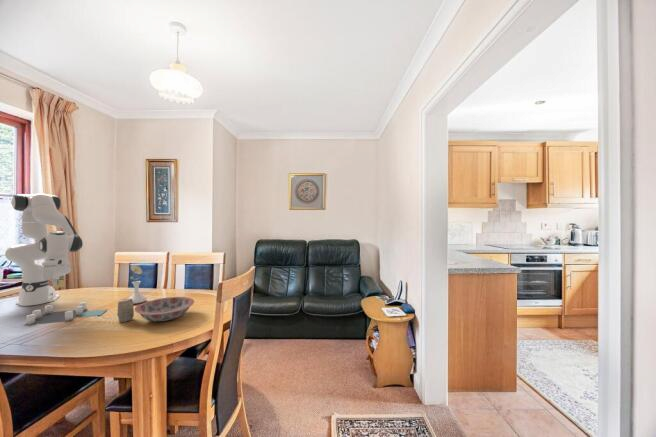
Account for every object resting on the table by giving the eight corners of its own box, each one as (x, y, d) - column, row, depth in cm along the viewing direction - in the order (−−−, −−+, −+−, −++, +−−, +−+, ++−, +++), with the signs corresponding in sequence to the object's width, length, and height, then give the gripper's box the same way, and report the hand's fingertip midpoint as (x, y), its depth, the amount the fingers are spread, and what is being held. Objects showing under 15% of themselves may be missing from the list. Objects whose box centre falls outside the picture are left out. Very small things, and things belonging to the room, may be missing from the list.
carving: (114, 322, 152) (114, 300, 152) (130, 317, 159) (129, 296, 159) (121, 324, 149) (121, 302, 149) (136, 319, 156) (136, 298, 156)
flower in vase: (149, 301, 187) (149, 264, 186) (130, 306, 177) (130, 267, 177) (140, 298, 194) (140, 262, 193) (121, 302, 184) (121, 265, 184)
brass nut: (54, 286, 159) (54, 279, 159) (66, 285, 161) (66, 278, 161) (50, 288, 154) (49, 280, 154) (62, 287, 156) (62, 280, 156)
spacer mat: (43, 313, 163) (43, 305, 163) (90, 309, 171) (90, 301, 171) (20, 326, 145) (20, 317, 144) (74, 321, 152) (74, 312, 152)
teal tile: (86, 312, 166) (86, 311, 166) (106, 310, 170) (106, 309, 170) (78, 318, 157) (78, 317, 157) (100, 316, 161) (100, 315, 161)
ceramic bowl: (121, 324, 150) (121, 309, 149) (169, 307, 177) (169, 294, 177) (161, 332, 140) (161, 316, 139) (205, 313, 167) (205, 300, 167)
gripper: (61, 257, 166) (61, 280, 166) (39, 263, 147) (40, 289, 147) (74, 256, 168) (74, 279, 168) (55, 262, 149) (55, 288, 149)
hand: (58, 284), depth 158 cm, fingers closed on brass nut, 5 cm apart
